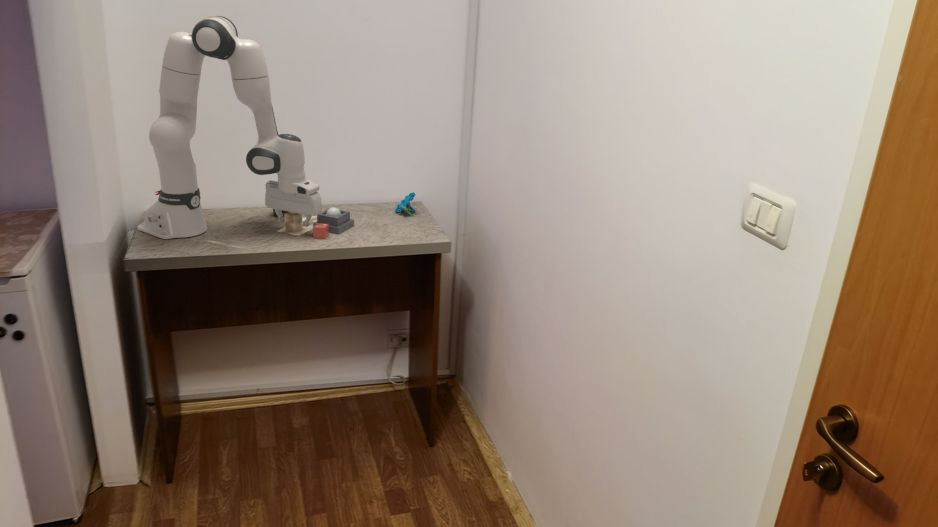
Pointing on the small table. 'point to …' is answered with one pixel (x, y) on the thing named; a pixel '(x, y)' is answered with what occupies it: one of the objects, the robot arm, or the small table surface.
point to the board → (304, 229)
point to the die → (321, 231)
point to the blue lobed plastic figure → (406, 204)
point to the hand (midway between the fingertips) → (294, 223)
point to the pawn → (293, 222)
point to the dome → (333, 212)
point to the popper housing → (336, 221)
